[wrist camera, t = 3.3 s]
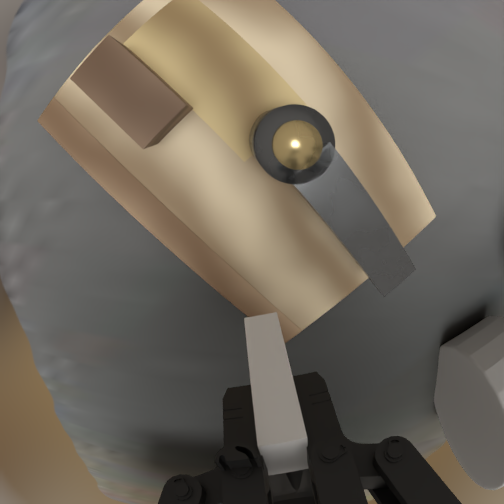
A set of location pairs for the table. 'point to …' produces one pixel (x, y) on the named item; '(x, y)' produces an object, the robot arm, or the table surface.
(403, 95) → the table surface
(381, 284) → the latch bar
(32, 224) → the table surface
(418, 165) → the table surface
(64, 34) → the table surface
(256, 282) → the board
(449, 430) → the alarm clock
